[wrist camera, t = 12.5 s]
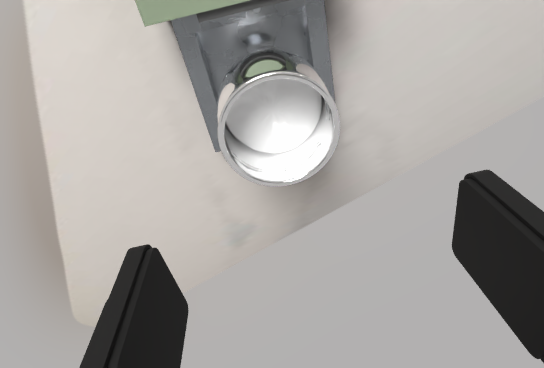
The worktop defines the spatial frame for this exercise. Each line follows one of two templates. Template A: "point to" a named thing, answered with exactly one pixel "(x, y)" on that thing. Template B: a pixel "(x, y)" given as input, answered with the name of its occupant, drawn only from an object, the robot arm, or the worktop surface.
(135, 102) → the worktop surface
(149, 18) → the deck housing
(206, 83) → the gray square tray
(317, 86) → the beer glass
